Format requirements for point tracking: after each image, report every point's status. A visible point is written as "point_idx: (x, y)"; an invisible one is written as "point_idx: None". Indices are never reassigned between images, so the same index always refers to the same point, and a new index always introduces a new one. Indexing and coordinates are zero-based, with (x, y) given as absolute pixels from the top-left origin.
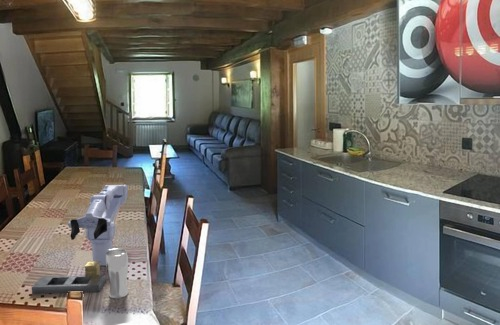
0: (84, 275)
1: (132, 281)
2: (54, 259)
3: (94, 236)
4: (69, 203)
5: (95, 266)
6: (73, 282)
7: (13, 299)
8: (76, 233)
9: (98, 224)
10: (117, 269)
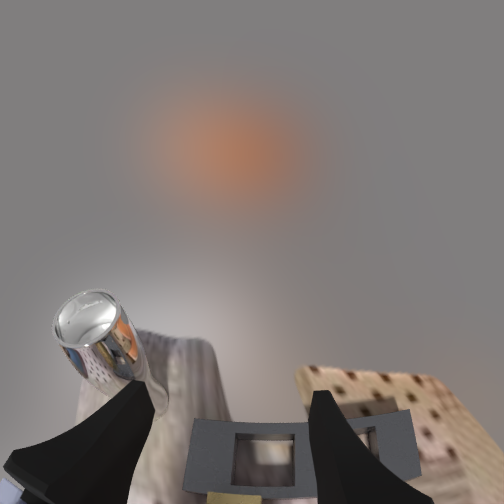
0: (265, 497)
1: None
2: None
3: (146, 395)
4: None
5: (212, 492)
6: (294, 460)
7: (425, 387)
8: (319, 493)
9: (79, 445)
10: (111, 322)
